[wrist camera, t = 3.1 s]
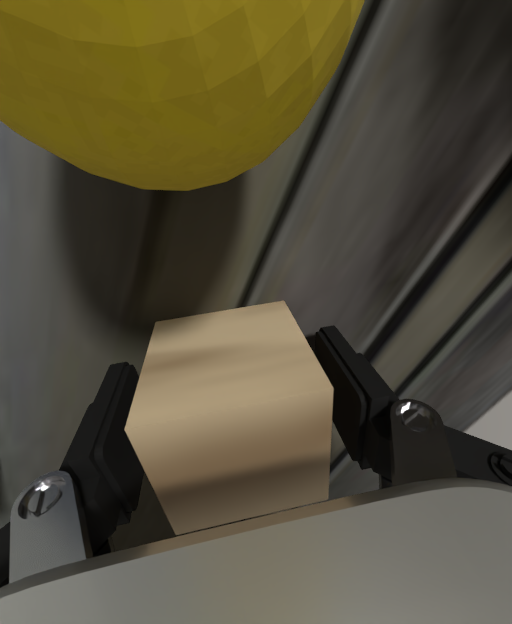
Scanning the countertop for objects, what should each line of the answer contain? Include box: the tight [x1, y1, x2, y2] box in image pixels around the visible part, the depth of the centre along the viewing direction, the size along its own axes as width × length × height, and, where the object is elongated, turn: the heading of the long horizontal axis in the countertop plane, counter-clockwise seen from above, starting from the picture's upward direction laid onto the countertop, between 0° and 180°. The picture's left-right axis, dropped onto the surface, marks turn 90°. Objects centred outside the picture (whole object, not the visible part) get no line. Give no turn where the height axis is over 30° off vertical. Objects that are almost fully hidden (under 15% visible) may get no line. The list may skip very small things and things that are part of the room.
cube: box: [124, 301, 334, 535], centre depth 10 cm, size 5×5×5 cm
